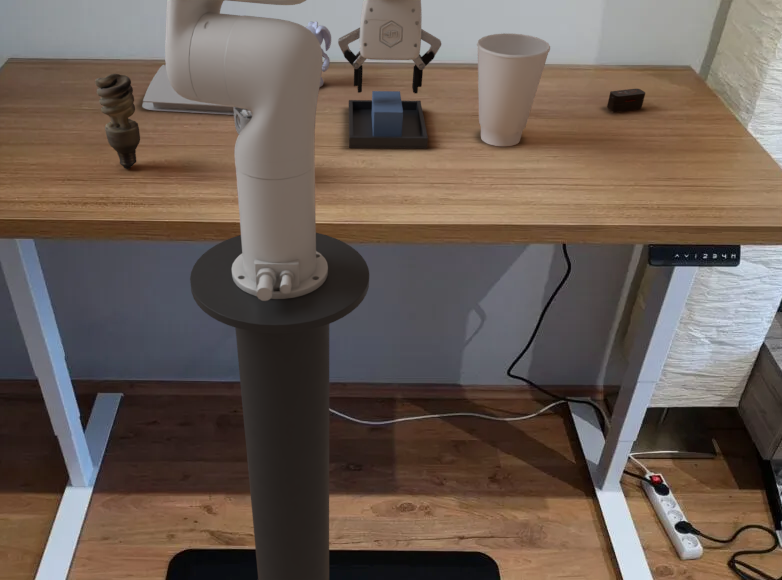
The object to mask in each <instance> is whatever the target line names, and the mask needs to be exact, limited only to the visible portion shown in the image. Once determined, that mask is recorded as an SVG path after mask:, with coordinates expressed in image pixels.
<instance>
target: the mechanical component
mask: <svg viewBox="0 0 782 580" xmlns="http://www.w3.org/2000/svg"><path fill="white" fill-rule="evenodd" d="M233 109H234V115H233V119H234V128H235V131H236V133H237V135H239V134H240V132H241V131H242V129H243V128H244V127H245V126H246V125H247V123H248V122H249V121H250V120H251V118H252V112H251V111H250V110H247V109H243V108H238V107H233Z"/></svg>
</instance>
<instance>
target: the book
mask: <svg viewBox="0 0 782 580" xmlns="http://www.w3.org/2000/svg"><path fill="white" fill-rule="evenodd" d="M141 108H143V109H144V110H148V111H159V112H174V113H175V112H176V113H177V112H178V113H193V114H209V115H210V114H212V115H229V116H230V115H231V116H232V115H233V116H234V109H233V106H225V105H218V104H210V103H204V102H197V101H192V100H189V99H186V98H184V97H182V96H180V95H179V94H178V93H176V92H175V91H174V89H173V88H172V86H171V84H170V82H169V79H168V76H167V71H166V64H162V65H161V66H160V67H159V68H158V70H157V71H156V73H155V74H154V76H153V78H152V79H151V81H150V82H149V85H148V87H147V89H146V91H145V93H144V97H143V99H142V105H141Z"/></svg>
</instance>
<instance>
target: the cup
mask: <svg viewBox="0 0 782 580" xmlns="http://www.w3.org/2000/svg"><path fill="white" fill-rule="evenodd" d="M476 47H477V87H478V88H477V90H478V91H477V92H478V94H477V95H478V123H479V125H480V139H481V140H482V142H483V143H486V144H488V145H491V146H496V147H512V146H515V145H518V144H519V143H520V142H521V138H522V135H523V131H524V130H525V129H526V127H527V124H528V120H529V118H530V114H531V110H532V107H533V104H534V102H535V98H536V94H537V91H538V88H539V86H540V85H539V84H540V81H541V78H542V75H543V71H544V69H545V66H546V63H547V62H546V61H547V60H548V56H549V53H550V50H551V46H550V44H549V42H547V41H546V40H544V39H542V38H540V37H536V36H533V35H529V34H522V33H506V32H505V33H504V32H503V33H494V34H489V35H485V36H483V37H481V38H479V39H478V40H477V43H476Z"/></svg>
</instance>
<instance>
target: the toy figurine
mask: <svg viewBox="0 0 782 580" xmlns="http://www.w3.org/2000/svg"><path fill="white" fill-rule="evenodd" d="M305 27H306V28H307V29H309V30H310V31H311V32H312V33H313V34H314V35H315V36H316V38H317V39H318V41H319V43H320V46H322V44H323V40H324V44H325V45H324V47H325V51H324V48H323V47H321V49H322V58H323V59H324V61H323V62H322V73H325V72H327V71H328V70H329V67H330V63H331V60H330V57H329V56H328V54H327V53H325V52H328V51H329V50H330V48H331V44H332V33H331V31H330V30H329V28H328V27H326V26H325V25H323V24H320V25H319V22H318V21H317V20H315V21H308V23H307V26H305ZM323 86H324V79H323V77H322V76H321V81H320V87H319V88H321V87H323Z"/></svg>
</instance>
